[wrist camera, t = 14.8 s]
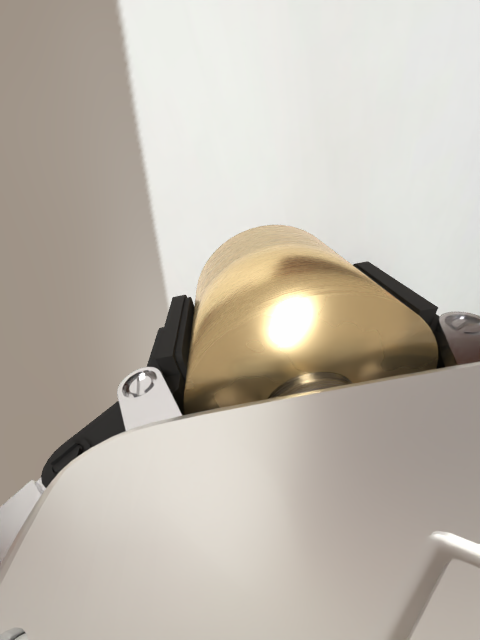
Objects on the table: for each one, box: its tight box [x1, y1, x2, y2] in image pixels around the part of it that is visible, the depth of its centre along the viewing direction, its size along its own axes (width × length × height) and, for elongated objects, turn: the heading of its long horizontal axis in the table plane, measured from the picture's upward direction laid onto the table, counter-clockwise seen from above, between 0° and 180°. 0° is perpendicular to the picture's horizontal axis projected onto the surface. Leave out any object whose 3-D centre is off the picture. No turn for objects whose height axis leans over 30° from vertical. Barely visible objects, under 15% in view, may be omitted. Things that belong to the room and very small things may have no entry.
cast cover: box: [184, 225, 438, 415], centre depth 9 cm, size 7×7×7 cm
